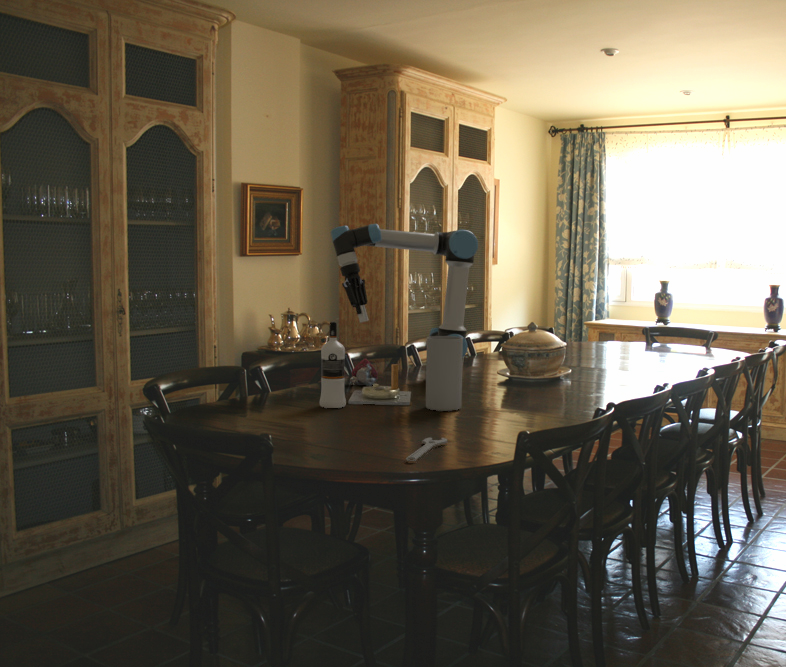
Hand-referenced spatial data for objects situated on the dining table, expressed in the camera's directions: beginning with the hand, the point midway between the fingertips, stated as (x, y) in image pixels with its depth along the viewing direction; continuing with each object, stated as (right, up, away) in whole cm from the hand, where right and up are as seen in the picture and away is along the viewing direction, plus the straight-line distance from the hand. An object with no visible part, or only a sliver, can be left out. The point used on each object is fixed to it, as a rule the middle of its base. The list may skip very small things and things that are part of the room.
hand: (364, 321), depth 293 cm
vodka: (-10, -31, -35) cm, 48 cm away
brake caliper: (0, -27, +12) cm, 29 cm away
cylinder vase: (+29, -31, -36) cm, 56 cm away
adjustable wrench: (+20, -37, -95) cm, 104 cm away
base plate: (+7, -29, -20) cm, 36 cm away
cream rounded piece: (+7, -28, -20) cm, 35 cm away
